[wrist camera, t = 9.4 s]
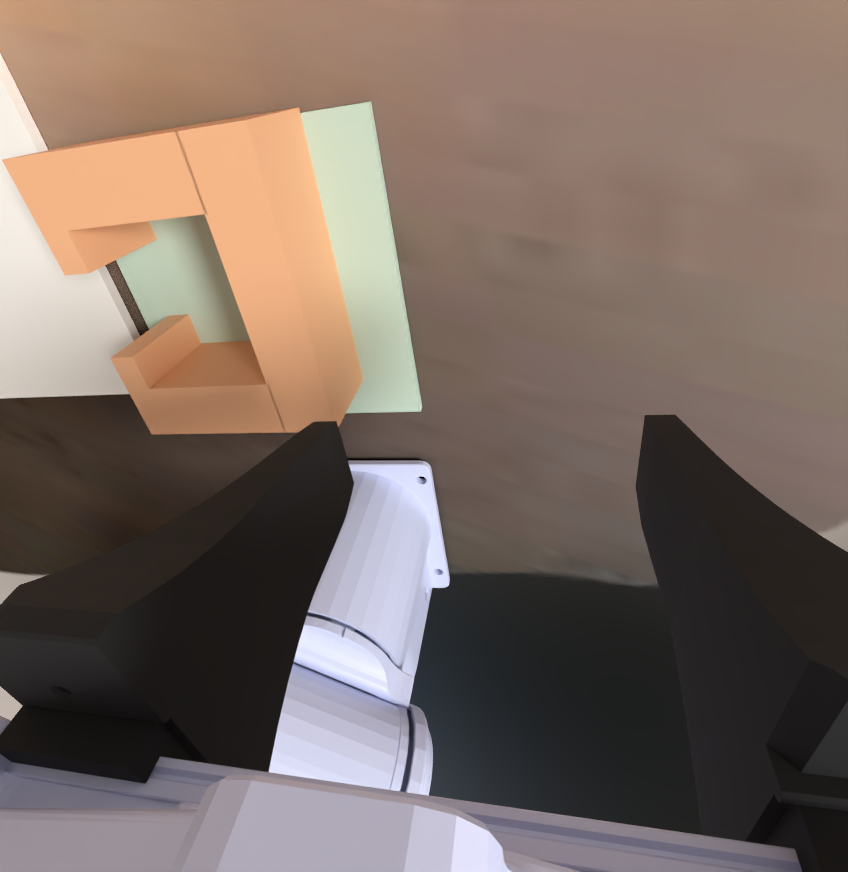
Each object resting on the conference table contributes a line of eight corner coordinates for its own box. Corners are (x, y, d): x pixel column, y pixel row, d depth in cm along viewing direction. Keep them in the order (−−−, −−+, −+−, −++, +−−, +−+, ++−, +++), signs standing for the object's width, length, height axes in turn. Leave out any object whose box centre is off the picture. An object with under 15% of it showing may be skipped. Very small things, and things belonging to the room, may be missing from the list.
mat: (422, 406, 24) (420, 411, 24) (195, 412, 27) (190, 416, 26) (370, 101, 17) (367, 102, 17) (71, 149, 20) (63, 151, 19)
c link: (200, 385, 25) (151, 434, 22) (90, 141, 19) (1, 159, 16) (363, 379, 23) (335, 431, 20) (298, 107, 17) (245, 119, 14)
